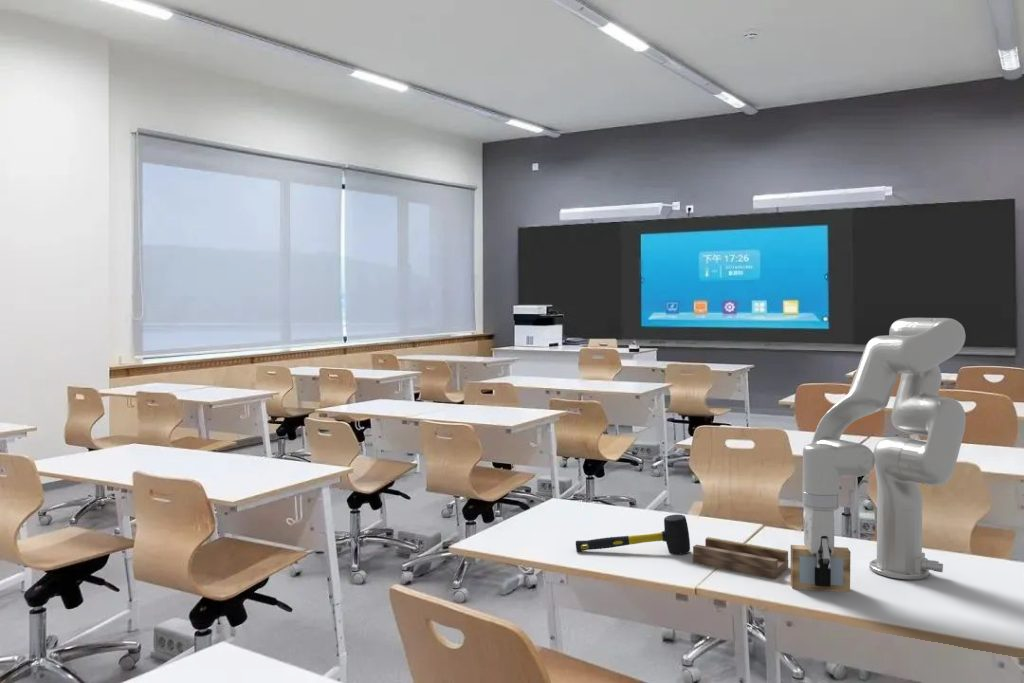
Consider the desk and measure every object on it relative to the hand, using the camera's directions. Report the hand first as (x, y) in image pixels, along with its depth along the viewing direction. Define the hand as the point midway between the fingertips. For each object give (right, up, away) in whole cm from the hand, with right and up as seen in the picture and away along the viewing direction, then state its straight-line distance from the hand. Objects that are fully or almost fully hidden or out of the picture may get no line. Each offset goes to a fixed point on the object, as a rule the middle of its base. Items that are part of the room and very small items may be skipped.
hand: (819, 580), depth 175 cm
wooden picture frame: (0, -2, 0) cm, 2 cm away
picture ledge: (-13, -1, +16) cm, 21 cm away
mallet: (-37, -1, +27) cm, 46 cm away
